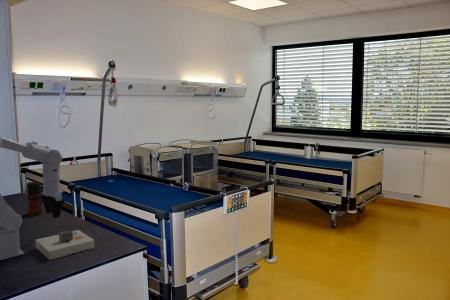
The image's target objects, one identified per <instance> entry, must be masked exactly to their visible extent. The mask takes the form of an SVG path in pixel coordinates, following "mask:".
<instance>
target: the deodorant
mask: <svg viewBox="0 0 450 300" xmlns="http://www.w3.org/2000/svg"><path fill="white" fill-rule="evenodd" d="M26 193H27V196H26V197H27V214H28V216H30V217H36V216H42V215H43V201H42V200H41V198H40V196H41V195H43V191H42V181H29V182H27V183H26Z"/></svg>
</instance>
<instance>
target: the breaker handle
mask: <svg viewBox="0 0 450 300" xmlns="http://www.w3.org/2000/svg"><path fill="white" fill-rule="evenodd" d="M58 235H59V241H60V242H65V241H69V240H73V233H72V230H70V229H69V230H65V231H60V232H58Z"/></svg>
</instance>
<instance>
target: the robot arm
mask: <svg viewBox="0 0 450 300" xmlns="http://www.w3.org/2000/svg"><path fill="white" fill-rule="evenodd" d="M0 149H5V150H6V149H7V150H9V151H10V150H11V151H13V152H18V153H21V155H22V157H24V158H25V159H28V160H33V161H35V162H36V161H37V162H39V163H41V164H42V181H43V182H42V185H43V188H42V195H41V196H40V198H41V200H42V205H43V207H44V211H45V213H46V214H51V215H52V218H54V219H56V218H57V219H58V218H60V216H61V214H62V213H61V212H62V208H63V206H64V203H65V202H66V199H65V198H63V197H62V194H63V193H64V190H63V189H61V183H60V182H61V176H60V166H61V163H62V161H63V156H62V154H61V152H60V151H59V150H57V149H51V148H50V147H49V146H47V145H46V146H43V145H40V144H38V142H36V141H31V142H27V143H22V142H20V141H16V140H13V139H10V138H8V137H5V136H1V135H0ZM22 224H23V218H22V216H21V215H20V214H19V213H17V212H15V211H14V209H13V208H12V206H10V205H9V204H8V203H7V201H6V200H5V199H4V197H3V195H2V193H0V261H2V260H6V259H9V258H14V257H19V256H22V255H25V252H24V251H23V250H22V249H21V244H20V227H21V226H22Z"/></svg>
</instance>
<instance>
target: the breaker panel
mask: <svg viewBox="0 0 450 300" xmlns="http://www.w3.org/2000/svg"><path fill="white" fill-rule="evenodd" d="M71 231H72V230H71ZM72 233H73V240H69V241H65V242H60V241H59V234H56V235H51V236H50V235H49V236H47V237H46V236H45V237H42V238H37V239H35V249H37V250H38V251H39V252H40V253H41V254H42V255H44V256H45V258H46V259H48V260H49V261H51V260H54V259H58V258H59V259H60V258H62V257H66V256H69V254H70V255H73V254H77V253H80V251H81V252H83V251H84V250H85V251H88V250H91V248H92V249H95V248H94V247H95V239H93V238H92V237H90V236H89V235H88V234H86V233H84V232H82V231H81V230H80V229H76V230H73V231H72ZM87 249H88V250H87ZM85 251H84V252H85ZM76 252H77V253H76ZM72 253H73V254H72Z"/></svg>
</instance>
